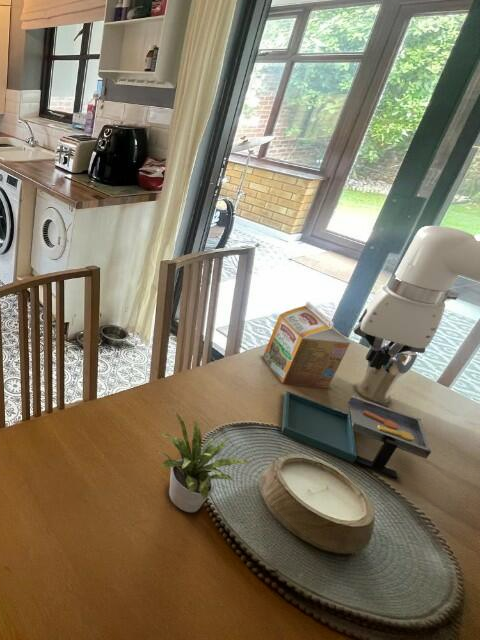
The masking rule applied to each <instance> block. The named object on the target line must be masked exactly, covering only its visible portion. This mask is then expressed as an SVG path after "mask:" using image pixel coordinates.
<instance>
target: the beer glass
mask: <svg viewBox="0 0 480 640" xmlns="http://www.w3.org/2000/svg"><path fill="white" fill-rule="evenodd" d="M389 342H390V341H388V340H385V339H384V340H383V343H382V346H381V347H384V346H386V345H387V344H388V343H389ZM419 354H420V353H417V352H410V351H406V352H401V353H397V354H396V355H394V356H391V358H390V359H389V361H388V363H387V365H386V366H384V365H382V367H381V368H380V370H378V369H376V368H375V367H373V368H372V367H369V363H368V362H367V363H368V364H367V367H366V372H365V375H364V377H363V379H362V380H361V381H360V383H358V384H357V386H356V391H357V392H358V394H359V395H361V396H362V397H364V398H366V399H368V400H369V401H371V402H374V403H378V402H379V403H382V404H386V403H388V402H390V398H391V394H392V391H393V390H394V389H395V387H396V386H397V385H398V384H400V383H401V381H402V380H403V379H404V378H405V377H406V376H407V375H408V374H409V373H410V371H411V370H412V369H413V366H414V365H415V363H416V360H417V357H418V355H419Z"/></svg>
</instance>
